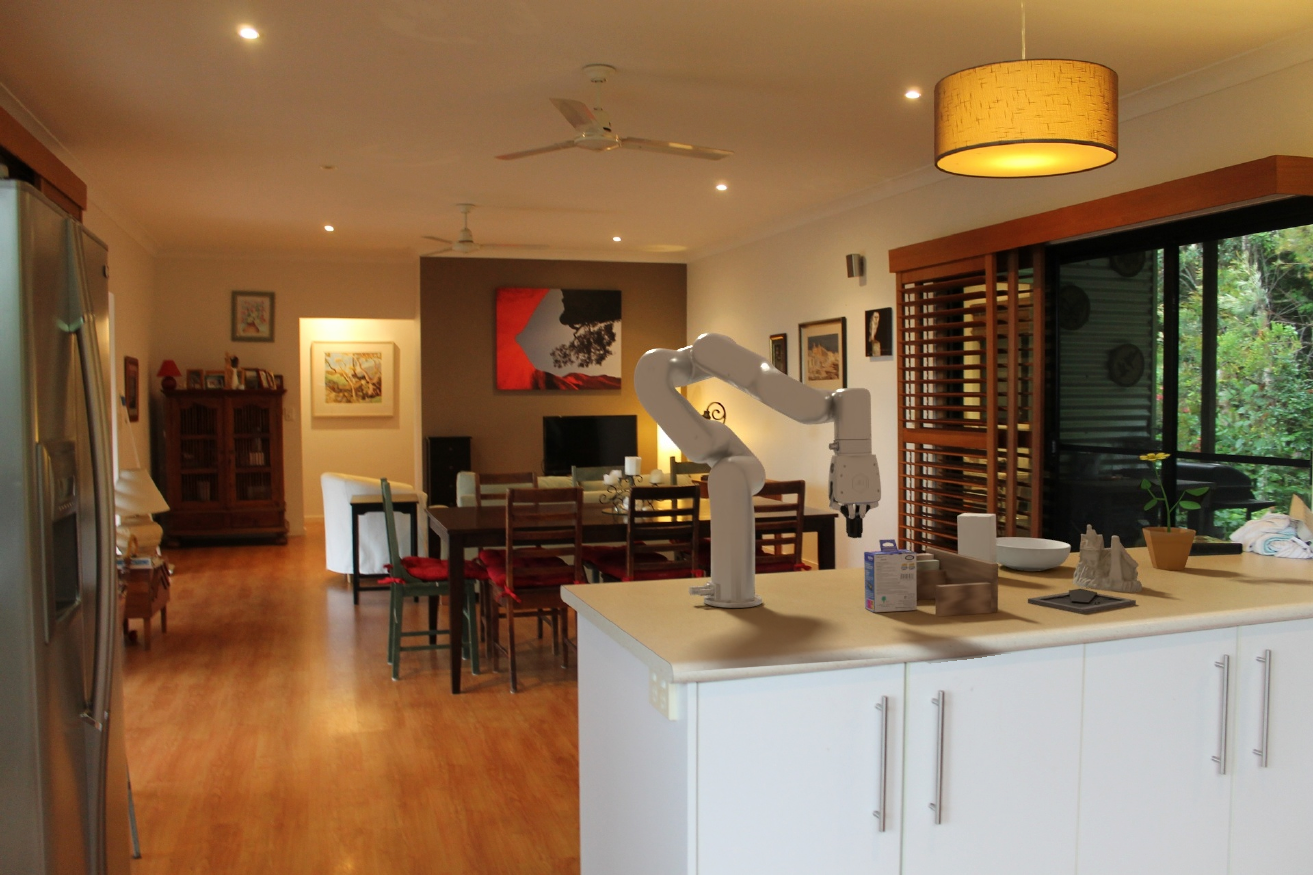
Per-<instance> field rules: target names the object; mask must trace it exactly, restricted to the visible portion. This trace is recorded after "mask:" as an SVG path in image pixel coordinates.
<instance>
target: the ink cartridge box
mask: <svg viewBox="0 0 1313 875" xmlns="http://www.w3.org/2000/svg"><path fill="white" fill-rule="evenodd" d="M878 542H879V548H880V550H874V551H872V550H871V551H870V550H869V551H864V552H863V555H864V556H863V559H864V560H863V563H864V564H863V566H864V609H866V610H868V611H870V612H873V613H885V612H886V613H887V612H903V611H904V612H906V611H907V612H908V611H916V610H918V609H917V608H918V606H917V605H918V604H917V592H916V554H918V553H917V552H916V551H913V550H908V549H898V546H897V543H896V539H879V540H878ZM888 543H890V544H892V545H885V546H884V544H888Z"/></svg>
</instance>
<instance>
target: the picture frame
mask: <svg viewBox="0 0 1313 875" xmlns="http://www.w3.org/2000/svg"><path fill="white" fill-rule="evenodd" d="M1136 602H1137V600H1136V599H1129V598H1124V597H1118V596H1113V595H1108V594H1102V593H1098V592H1097V591H1093V590H1089V589H1086V588H1084V589H1083V588H1075V589H1069V590H1068V592H1062V593H1055V594H1049V595H1048V594H1047V595H1044V596H1037V597H1031V598H1027V604H1028V605H1029V604H1031V605H1034V606H1041V607H1044V608H1045V607H1046V608H1050V609H1053V610H1054V609H1055V610H1058V611H1063V612H1064V611H1065V612H1070V613H1075V614H1079V615H1086V614H1087V615H1088V614H1093V613H1098V612H1103V611H1109V610H1114V609H1115V610H1116V609H1120V608H1121V609H1122V608H1127V607H1131V606H1136V605H1137V603H1136Z"/></svg>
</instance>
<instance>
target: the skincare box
mask: <svg viewBox="0 0 1313 875" xmlns="http://www.w3.org/2000/svg"><path fill="white" fill-rule="evenodd" d="M956 520H957V522H956V523H957V554H960V555H964V556H968V557H972V558H976V559H981V560H985V561H989V562H993V563H997V545H996V538H997V515H996V513H975V512H974V513H973V512H967V513H966V512H964V513H961V514H959V515H957V519H956ZM997 564H998V563H997Z"/></svg>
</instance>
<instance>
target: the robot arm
mask: <svg viewBox="0 0 1313 875" xmlns="http://www.w3.org/2000/svg"><path fill="white" fill-rule="evenodd" d="M712 378H716V379H719V380H720V381H723V382H724V383H726V384H728V385H730V386H732V387H734V388H735V389H738V390H740V391H742V392H744V393H745V394H747V395H749V396H750V397H751V398H753V399H755V400H757V401H759V402H760V403H762V404H764V405H766V406H767V407H769V408H771V409H772V410H774V411H776V412H778V413H780V414H782V415H784V416H786V417H788V418H789V419H792V420H794V421H795V422H797V423H799V424H803V425H822V424H828V423H833V433H834V434H833V436H834V437H833V439H834V440H833V442H832V443H831V442H830V443H828V449H829V450H830V451H833V453H834V454H833V455H831V457H830V458H831V459H830V463H829V471H828V484H827V486H828V487H827V488H828V490H827V492H828V495H827V496H828V499H829V507H828V508H829V509H830V510H833V511H834V510H835V511H838V512H840V513H841V515H843V517H844V518H845V532H846V534H847V537H848V538H851V539H861V538H863V533H864V532H863V531H864V528H863V527H864V523H863V522H864V519H865V517H866V514H867V513H868V512H869V510H873V509H876V508H878V507H879V506H880V504H879V502H880V501H881V499H882V485H881V484H882V482H881V476H880V475H881V473H880V469H879V463H878V458H877V455H876V454H873V453H872V451H873V450H872V448H873V445H872V444H873V442H872V439H873V438H872V400H871V399H872V395H871V392H870V391H869V389H868V388H864V387H847V388H846V387H845V388H844V387H843V388H838V389H829V388H819V387H811V386H809V385H807V384H805V383H803V382H802V381H799V380H797V379H795V378H793V377H792V376H789V375H788V374H785V373H784V372H783V371H780V370H779V369H777V368H776V367H775V365H774V364H773V363H772V362H771V360H769V359H767V358H766V357H765V356H762V355H760V354H758V353H756V352H755V351H752V350H750V349H748V348H746V347H745V346H742V345H741V344H738V343H737V342H736V341H735V340H734V339H733V338H732V337H731V336H728V335H724V334H719V333H716V332H705V333H703V334H701V335H699V336H698V337H696V339H695V340H694V341H693V343H692V345H689V346H686V347H684V348H679V349H677V350H676V349H670V348H669V349H668V348H660V347H659V348H653V349H651V350H648V351H646V352H645V353H644V354H642V355H641V357H640V358H639V359H638V361H637V364H636V366H635V368H634V374H633V386H634V391H635V394H636V398H637V399H638V401H639V403H640V405H641V407H642V408H643V409H644V410H645V411H646V413H648V415H649V416H650V417H651V418H652V420H653V421H654V422H655V423H656V425H658V426H659V428H660V429H661V430H662V431H663V432H664V433H665V435H666V436H667V437H668V438H669V439H670V440H671V441H672V443H673V444H674V445H675V446H676V447H677V448H678V449H679V451H680V452H681V453H682V454H683V456H685V457H686V459H687V460H689V461H691V463H695V464H707V465H708V466H709V467H710V468H711V469H710V471H709V473H708V476H707V477H708V478H707V492H708V500H709V509H710V580H706V584H704V583H703V585H700V586H699V585H691V586H689V588H688V592H689V595H690V596H699V597H702V596H703V603H704V604H706V605H708V606H712V607H718V608H727V609H728V608H730V609H731V608H732V609H740V608H741V609H742V608H752V607H756V606H759V605H761V604H762V603H763V597H762V596H760V595H758V594H756V517H755V516H756V515H755V508H754V507H755V506H754V500H753V499H754V498H753V496H755V495H757V494H758V493H759V492H760V491H761V490H762V489H763V488H764V486H765V482H766V478H767V475H766V474H767V473H766V469H765V467H764V465H763V463H762V462H761V460H760V459H759V458H758V457H757V455H755V454H754V452H752V450H751V449H750V448H749V447H748V446H747V445H746V444H745V442H743V441H742V440H741V439H740V437H739V436H738V435H737V434H736V433H735V432H734V431H733V430H732V429H731V428H730V427H729V425H726V423H723V422H721V421H719V420H715V419H706V418H705V417H704V416H703V415H702V414H701V413H700V412H699V411H698V410H697V409H696V407H694V405H693V404H692V403H691V402H690V401H689V399H687V398H686V397H685V396H684V395H682V394H681V393H680V392H679V390H677V389H676V388H682V387H687V386H690V385H692V384H695V383H699V382H702V381H705V380H709V379H712Z"/></svg>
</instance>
